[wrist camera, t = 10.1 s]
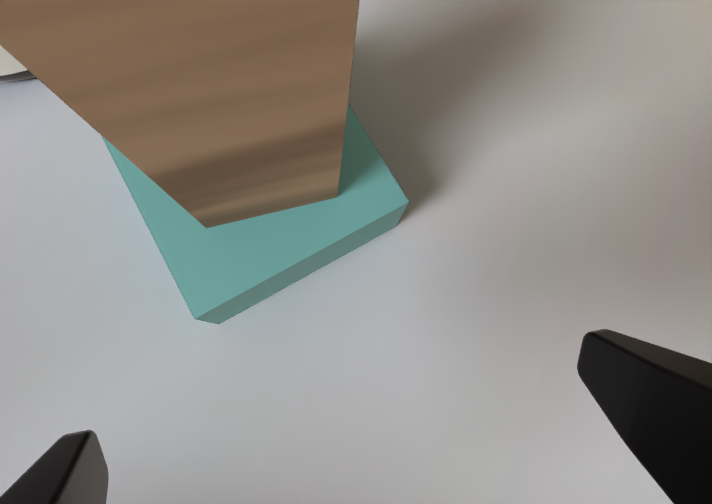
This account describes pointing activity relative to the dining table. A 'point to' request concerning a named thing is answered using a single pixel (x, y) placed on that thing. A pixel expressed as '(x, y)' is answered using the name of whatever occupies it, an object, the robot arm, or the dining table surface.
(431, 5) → the dining table surface
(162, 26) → the walnut block
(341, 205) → the teal base block
